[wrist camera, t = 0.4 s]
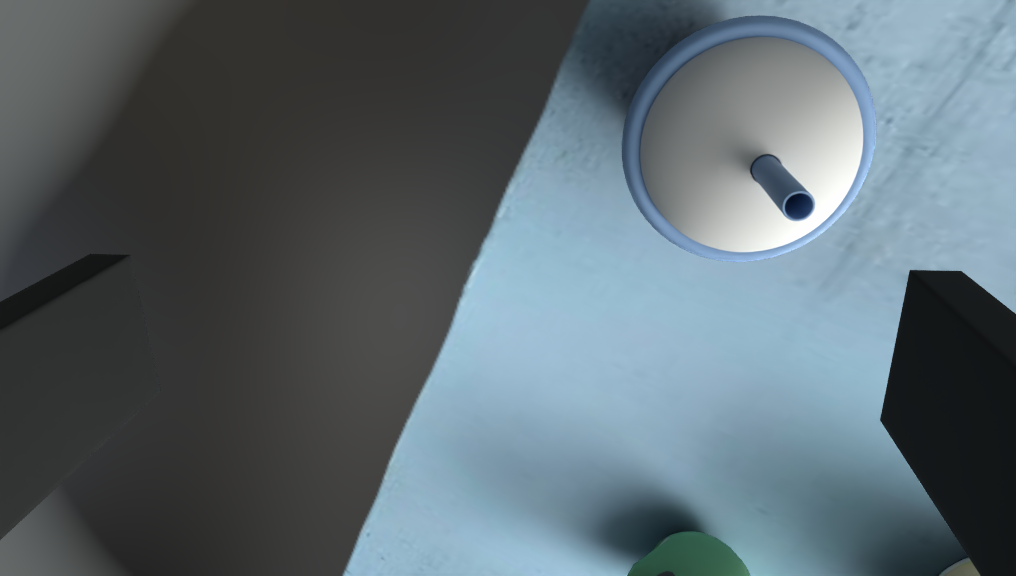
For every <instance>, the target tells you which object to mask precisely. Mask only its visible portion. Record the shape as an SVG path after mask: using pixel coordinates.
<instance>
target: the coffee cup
mask: <svg viewBox="0 0 1016 576" xmlns="http://www.w3.org/2000/svg"><path fill="white" fill-rule="evenodd" d="M939 576H980V574H979V573H978V571H977V569H976V568H975V566H974V565H973V563H972V562H971V560H970V559H969V557H968V558H966V559H963V560H961V561H959V562H957V563H955V564H953V565H952V566H950V567H948V568H947V569H945V570H944V571H943V572H942V573H941V574H940V575H939Z"/></svg>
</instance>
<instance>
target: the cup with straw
mask: <svg viewBox="0 0 1016 576" xmlns="http://www.w3.org/2000/svg"><path fill="white" fill-rule="evenodd" d="M875 142H876V114H875V108H874V103H873V99H872V95H871V92H870V89H869V86H868V84H867V82H866V80H865V77H864V76H863V74H862V72H861V70H860V69H859V67H858V66H857V64H856V63H855V62H854V60H853V59H852V57H851V56H850V55H849V54H848V53H847V52H846V51H845V50H844V49H843V48H842V47H841V46H840V45H839V44H838V43H837V42H835V41H834V40H833V39H832V38H830V37H829V36H827V35H826V34H824V33H823V32H821V31H819V30H817V29H815V28H813V27H811V26H809V25H806V24H803V23H801V22H798V21H795V20H791V19H787V18H781V17H775V16H745V17H739V18H733V19H729V20H725V21H721V22H718V23H715V24H713V25H710V26H707V27H705V28H703V29H701V30H699V31H697V32H695V33H693V34H691V35H690V36H688V37H686V38H685V39H683V40H682V41H680V42H679V43H678V44H676V45H675V46H673V47H672V48H671V49H670V50H669V51H668V52H667V53H665V54H664V55H663V56H662V57H661V58H660V59H659V60H658V61H657V63H656V64H655V65H654V66H653V67H652V68H651V70H650V71H649V72H648V73H647V75H646V76H645V78H644V79H643V81H642V82H641V84H640V86H639V87H638V89H637V91H636V93H635V95H634V97H633V100H632V102H631V105H630V107H629V110H628V113H627V117H626V120H625V125H624V130H623V138H622V161H623V169H624V174H625V178H626V181H627V185H628V188H629V191H630V193H631V195H632V197H633V200H634V202H635V203H636V205H637V207H638V209H639V210H640V212H641V213H642V214H643V216H644V217H645V219H646V220H647V221H648V222H649V223H650V224H651V225H652V227H653V228H655V229H656V230H657V231H658V232H659V233H660V234H661V235H662V236H664V237H665V238H666V239H668V240H669V241H670V242H672V243H673V244H675V245H677V246H678V247H680V248H682V249H684V250H686V251H689V252H691V253H693V254H696V255H699V256H702V257H706V258H710V259H714V260H720V261H731V262H746V261H756V260H762V259H767V258H771V257H775V256H778V255H782V254H784V253H787V252H789V251H792V250H794V249H796V248H798V247H800V246H802V245H804V244H806V243H808V242H809V241H811V240H813V239H814V238H816V237H817V236H818V235H820V234H821V233H823V232H824V231H825V230H826V229H828V228H829V227H830V226H831V225H832V224H833V223H834V222H835V221H836V220H837V219H838V218H839V217H840V216H841V215H842V214H843V213H844V212H845V210H846V209H847V208H848V207H849V206H850V204H851V203H852V201H853V200H854V198H855V197H856V195H857V194H858V192H859V190H860V188H861V187H862V185H863V183H864V180H865V178H866V176H867V174H868V171H869V168H870V165H871V162H872V158H873V154H874V149H875Z"/></svg>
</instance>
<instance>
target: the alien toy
mask: <svg viewBox="0 0 1016 576" xmlns="http://www.w3.org/2000/svg"><path fill="white" fill-rule="evenodd" d="M627 576H750V574H749V572H748V569H747V567H746V566H745V564H744V563H743V561H742V560H741V559H740V558H739V557H738V556H737V554H736V553H735V552H734V551H733V550H732V549H731V548H730V547H729V546H727V545H726V544H725V543H723V542H722V541H720V540H719V539H717V538H715V537H713V536H710V535H707V534H705V533H700V532H693V531H691V532H680V533H676V534H672V535H670V536H668V537H666V538H664V539H662V540H661V541H660V542H659V543H658V544H657V545H656V546H655V547H654V549H653V551H652V552H650V553H649V554H648V555H646V556H645V557H643V558H642V559H641V560H639V561H638V562H636V563H635V564H634V565H633V567H632V568H631V570H630V572H629V573H628V575H627Z"/></svg>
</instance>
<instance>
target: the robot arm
mask: <svg viewBox="0 0 1016 576" xmlns="http://www.w3.org/2000/svg"><path fill="white" fill-rule="evenodd" d="M160 391H161V388H160V384H159V380H158V375H157V371H156V366H155V363H154V358H153V353H152V349H151V344H150V340H149V336H148V331H147V327H146V322H145V318H144V314H143V309H142V305H141V301H140V296H139V292H138V288H137V283H136V279H135V274H134V270H133V265H132V261H131V257H130V255H106V254H90V255H87V256H86V257H84V258H82V259H80V260H78V261H76V262H74V263H73V264H71V265H69V266H67V267H65V268H63V269H61V270H59V271H57V272H56V273H54V274H52V275H50V276H48V277H46V278H44V279H42V280H40V281H39V282H37V283H35V284H33V285H31V286H29V287H28V288H25V289H24V290H22V291H20V292H18V293H16V294H14V295H13V296H10V297H9V298H7V299H5V300H3V301H1V302H0V540H1V539H2V538H3V537H4V536H5V535H6V534H7V533H8V532H9V531H10V530H12V528H14V527H15V526H16V525H17V524H18V523H19V522H20V521H21V520H22V519H23V518H24V517H25V516H27V515H28V514H29V513H30V512H31V511H32V510H33V509H34V508H35V507H36V506H37V505H38V504H40V503H41V502H42V501H43V500H44V499H45V498H46V497H47V496H48V495H49V494H50V493H51V492H52V491H53V490H55V489H56V488H57V487H58V486H59V485H60V484H61V483H62V482H63V481H64V480H65V479H66V478H67V477H68V476H70V475H71V474H72V473H73V472H74V471H75V470H76V469H77V468H78V467H79V466H80V465H81V464H83V463H84V462H85V461H86V460H87V459H88V458H89V457H90V456H91V455H92V454H93V453H94V452H95V451H97V450H98V449H99V448H100V447H101V446H102V445H103V444H104V443H105V442H106V441H107V440H108V439H109V438H110V437H112V435H114V434H115V433H116V432H117V431H118V430H119V429H120V428H121V427H122V426H123V425H124V424H125V423H127V422H128V421H129V420H130V419H131V418H132V417H133V416H134V415H135V414H136V413H137V412H138V411H140V409H142V408H143V407H144V406H145V405H146V404H147V403H148V402H149V401H150V400H151V399H152V398H153V397H155V395H157V394H158V393H159V392H160ZM880 421H881V422H882V424H883V425H884V427H885V429H886V430H887V432H888V433H889V435H890V436H891V438H892V439H893V441H894V442H895V444H896V446H897V447H898V449H899V450H900V452H901V453H902V455H903V456H904V458H905V459H906V461H907V463H908V464H909V466H910V467H911V469H912V470H913V472H914V473H915V475H916V477H917V478H918V480H919V481H920V483H921V484H922V486H923V487H924V489H925V490H926V492H927V494H928V495H929V497H930V498H931V500H932V501H933V503H934V504H935V506H936V508H937V509H938V511H939V512H940V514H941V515H942V517H943V518H944V520H945V521H946V523H947V525H948V526H949V528H950V529H951V531H952V532H953V534H954V535H955V537H956V538H957V540H958V542H959V543H960V545H961V546H962V548H963V549H964V551H965V552H966V554H967V556H968V557H969V559H970V560H971V562H972V563H973V565H974V566H975V568H976V569H977V571H978V573H979V574H980V576H1016V314H1015V313H1014V312H1012V311H1011V310H1010V309H1009V308H1007V307H1006V306H1005V305H1004V304H1002V303H1001V302H1000V301H999V300H997V299H996V298H995V297H993V296H992V295H991V294H990V293H988V292H987V291H986V290H985V289H983V288H982V287H981V286H980V285H978V284H977V283H976V282H974V281H973V280H972V279H971V278H969V277H968V276H967V275H966V274H964V273H963V272H962V271H927V270H910V272H909V277H908V282H907V287H906V292H905V297H904V302H903V307H902V312H901V317H900V322H899V327H898V332H897V338H896V343H895V348H894V353H893V358H892V363H891V368H890V373H889V378H888V383H887V388H886V393H885V398H884V403H883V408H882V413H881V418H880Z"/></svg>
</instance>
